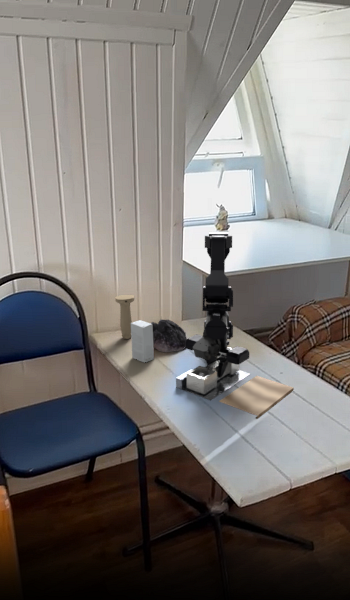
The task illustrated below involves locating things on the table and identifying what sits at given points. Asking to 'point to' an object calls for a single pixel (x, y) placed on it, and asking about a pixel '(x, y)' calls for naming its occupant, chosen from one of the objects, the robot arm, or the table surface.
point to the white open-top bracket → (208, 376)
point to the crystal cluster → (168, 336)
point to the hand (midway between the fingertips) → (216, 375)
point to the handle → (125, 314)
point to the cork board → (257, 396)
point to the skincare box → (142, 341)
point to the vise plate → (221, 386)
